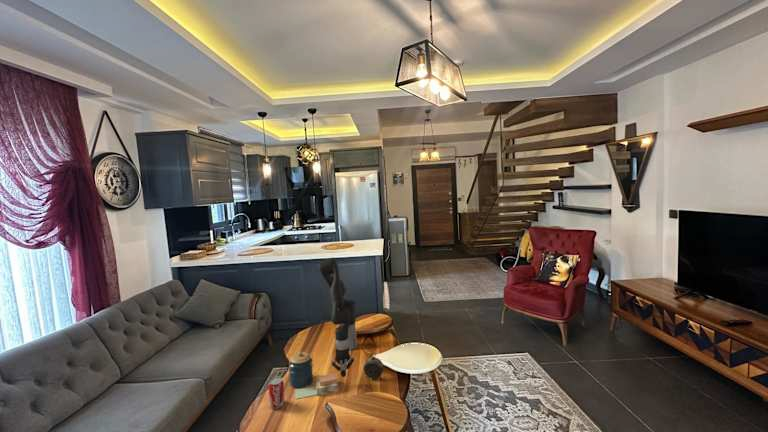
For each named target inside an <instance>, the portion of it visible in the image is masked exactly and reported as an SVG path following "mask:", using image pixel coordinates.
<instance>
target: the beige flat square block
mask: <svg viewBox="0 0 768 432" xmlns="http://www.w3.org/2000/svg"><path fill="white" fill-rule="evenodd" d="M314 379H315V381H314V382H315V386H316V391H317V395H316V396H318V397H319V396H324V395H329V394H333V393H338V392H339V384H338V382H337V383H332V384H327V385H322V386H320V381H319V377H316V378H314Z"/></svg>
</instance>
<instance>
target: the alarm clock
mask: <svg viewBox="0 0 768 432" xmlns="http://www.w3.org/2000/svg"><path fill="white" fill-rule="evenodd" d="M373 353H374V354H375V356H371V355H372V354H373ZM369 355H370V356H369V358H367V359H366V360H365V362H364V364H363V372H364V374H365V375H366V378H369V379H371V382H373V381H374V379H375V380H376V379H381V380H382V374H383V371H384V363H383V362H382V360H381V359H379V358H377V354H376V352H375V351H372V352H370V354H369Z"/></svg>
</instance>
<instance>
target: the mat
mask: <svg viewBox="0 0 768 432" xmlns="http://www.w3.org/2000/svg"><path fill="white" fill-rule="evenodd" d="M294 396H295V400H299V399H305V398H309V397H313V396H317V391H316V385H313V386H306V387H302V388H296V389H294Z"/></svg>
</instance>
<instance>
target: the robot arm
mask: <svg viewBox="0 0 768 432" xmlns="http://www.w3.org/2000/svg"><path fill="white" fill-rule="evenodd" d="M317 267H318V271H319V273H320V275H321V276H322V278H323V280H324V281H325V282H326V285H327V286H328V289H329V299H330V304H331V316H330V319H331V322H332V324H333V325H337V327H336V328H335V331H334V333H335V337H334V338H335V343H334V344H335V346H334V347H335V348H334V349H335V357H334V360H331V362H330V363H331V365H332V366H333V367H334V369H335V370H337V371H339V372H340V376H341V378H345V377H346V376H347V370H349V369H350V367H351V366H352V365H353V363H354V361H355V359H354V357H352V356H351V354H350V351H352V350H355V349H357V348H358V343H357V342H358V341H357V331H356V312H357V311H356V309H357V307H356V306H357V305H356V301H355V299H346V298H344V296H345V294H346V287H345V285H344V282H343V281H342V280H341V277H340V276H341V275H340V270H339V263H338V262H337V260H336V258H335V257H331V258H328V259H324V260H321V261H319V262H318V264H317ZM332 274H333V275H332Z"/></svg>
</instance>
